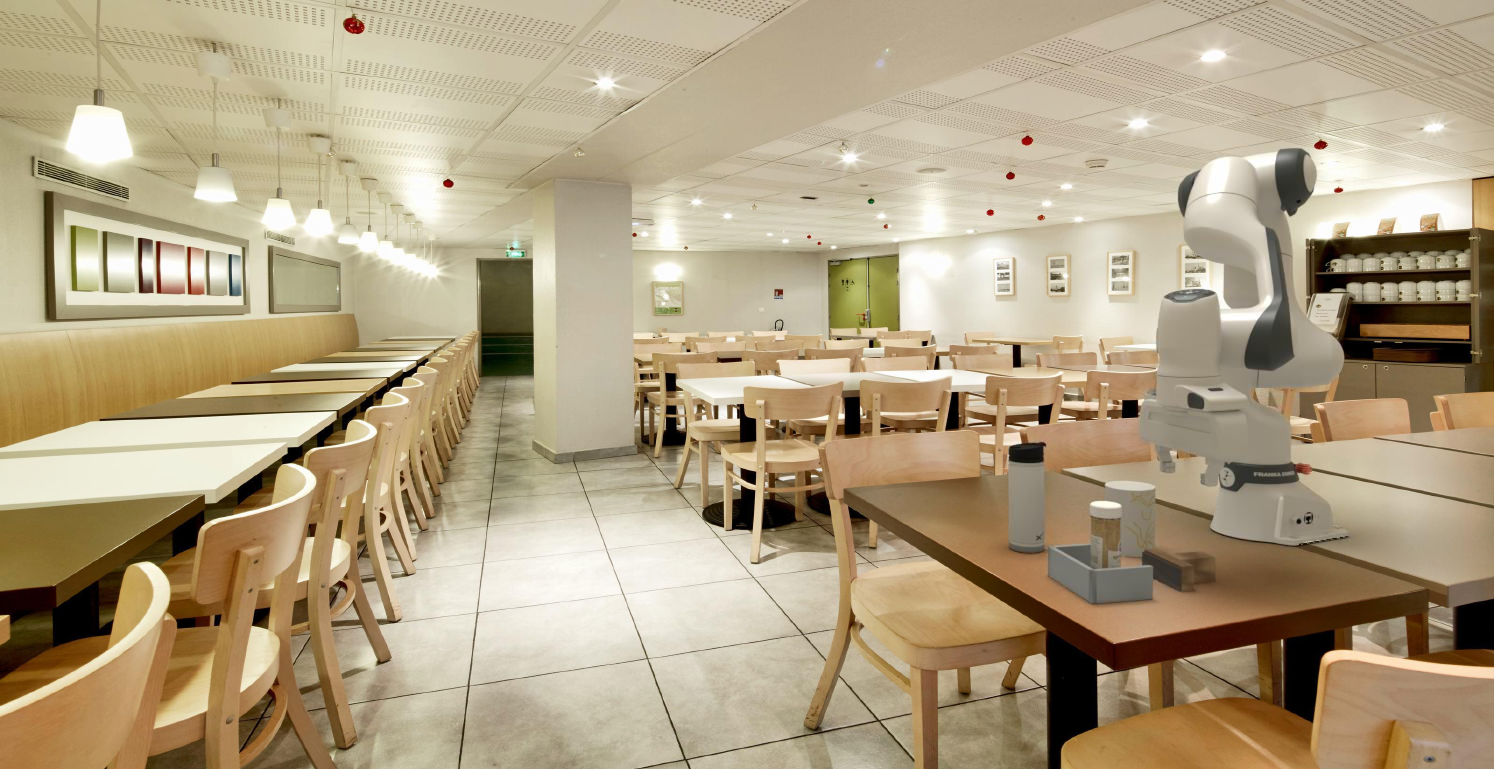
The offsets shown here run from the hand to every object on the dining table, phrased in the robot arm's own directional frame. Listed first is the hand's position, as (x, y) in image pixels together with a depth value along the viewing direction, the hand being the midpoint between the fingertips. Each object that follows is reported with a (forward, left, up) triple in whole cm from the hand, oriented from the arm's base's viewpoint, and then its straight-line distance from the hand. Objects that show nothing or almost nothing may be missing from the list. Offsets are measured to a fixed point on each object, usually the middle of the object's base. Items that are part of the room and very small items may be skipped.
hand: (1187, 478), depth 118 cm
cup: (-1, -16, -17) cm, 23 cm away
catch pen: (+15, 0, -17) cm, 22 cm away
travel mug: (+16, -21, -17) cm, 31 cm away
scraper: (+1, 0, -17) cm, 17 cm away
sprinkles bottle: (+14, 0, -17) cm, 22 cm away
